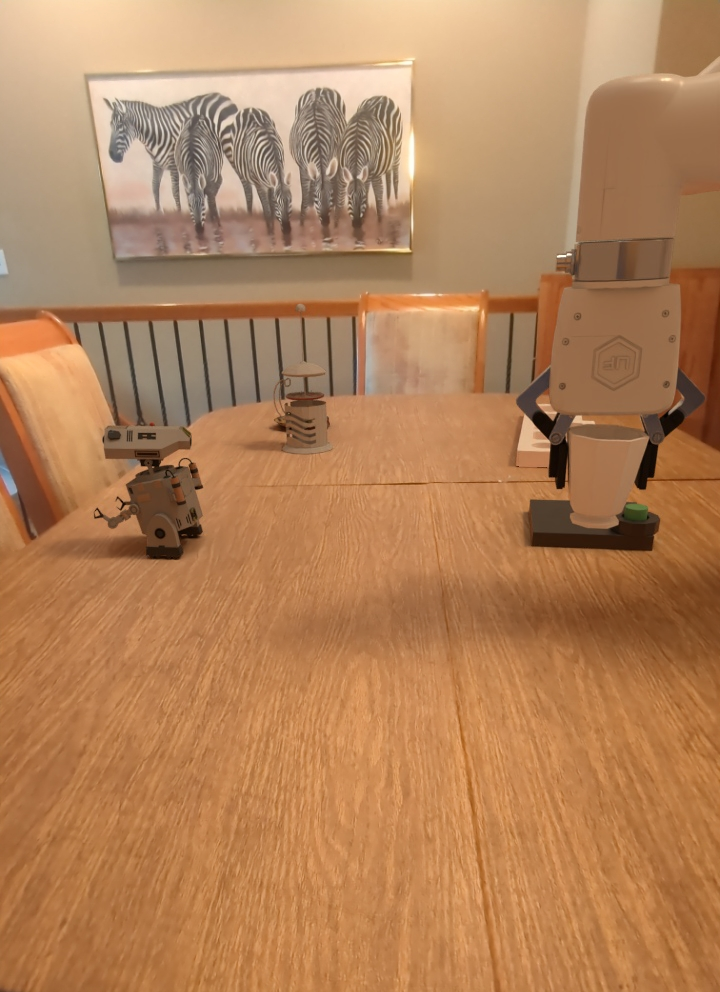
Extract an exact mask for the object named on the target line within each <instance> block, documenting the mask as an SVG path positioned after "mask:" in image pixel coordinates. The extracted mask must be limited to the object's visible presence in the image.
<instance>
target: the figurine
mask: <svg viewBox="0 0 720 992" xmlns="http://www.w3.org/2000/svg"><path fill="white" fill-rule="evenodd" d="M192 435H193V434H192V432H191V431H190V430H188V429H187V428H186V427H184V426H181V425H180V426H171V425H163V426H162V425H155V423H154V422H150V423H149V424H148V425H107V426H106V427H105V428H104V435H102V439H101V440H102V444H103V452H104V458H105V460H136V461H139V465H140V467H141V468H144V467H145V468H146V467H147V468H146V469H145V470H141V471H140V472H138V473H136V474H135V476H134V477H135V478H133V479H132V480H130V481H128V482H127V483H125V487H126V490H127V493H128V495H129V496H128V497H129V499H130V500H128V501H127V500H126V501H123V499H121V498H120V496H116V499H115V501H114V502H118V501H119V502H120V503H121V506H120V507H119V506H116V509H118V510H119V511H120V512H119V514H117V515H116V516H112V517H109V516H107V515H106V514H104V513H103V512H102V511H101V510H100V509H99V507H96V508H95V510H94V511H93V519H94V520H96V519H103V520H105V521H106V522H107V527H108V528H109V529H111V530H114V529H116V528H117V527H118V526H119V524H121V523H123V522H124V521H125V522H126V521H128V520H130V519H131V518H132V516H136V519H137V522H138V525H139V528H140V531H141V534H142V535H145V536H146V546H145V555H146V556H148V557H149V558H150V559H154V558H156V559H161V558H162V557H163V556H164V557H165V558H166V559H168V560H170V559H172V558H173V559H174V560H176V559H178V558H179V557H181V556H182V555H183V554H184V552H185V551H184V549H183V548H184V547H183V545H182V544H181V542H180V538H181V537H182V536H183V535H184V536H186V537H187V538H191V537H193V538H197V537H198V536H200V535H202V533H204V532H203V526H202V524H200V523H201V522H200V519H201V518H202V517H204V515H203V510H202V507H201V505H200V501H199V497H198V493H197V491H198V490H202V489H204V485H203V483H202V480H201V477H200V476H201V475H200V473H199V469H198V466H197V463H196V462H192V460H191V459H190V458H188V457H183V458H181V459H179V461H178V465H177V466H174V465H173V464H164V465H161V464H162V462H163V461H164V460H165V458H167V457H169V456H171V455H172V454H174V453H176V452H178V451H179V450H181V451H182V450H187V451H188V450H189V451H190V450H191V449H192V446H193V437H192ZM184 460H188V461H189V464H188V466H186V465H185V466H184V465H181V462H182V461H184ZM125 506H128V509H124V508H125ZM123 509H124V510H123ZM96 512H98V515H97V516H96Z"/></svg>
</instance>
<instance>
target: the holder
mask: <svg viewBox="0 0 720 992" xmlns="http://www.w3.org/2000/svg"><path fill="white" fill-rule="evenodd" d="M537 404H538V406H539V407H540V408H541V409H542V410H543V411H544V412H545V413H546V414H547V415H548V416H549V417H550V418H551V419H552V420H553V419H554V417H555V415H556V413H557V412H556V411H555V410H554V409H553V408H552V406H551V404H550V403H537ZM523 414H524V413H523ZM584 424H596V421H595V420H583V416H575V418H574V420H573V422H572V423H571V425H570V427H575V426H579V425H584ZM570 427H569V428H570ZM565 436H566V441H567V433H566V435H565ZM549 457H550V441H549V440H548V439H547V438H546V437H545V436H544V435H543V433H542V432H541V431H540V430H539V429H538V428H537V427H536V426H535V425H534V424H533V422H532V421H531V420H530V419H529V418H528V417H527V416H526V415H525V414H524V416H523V419H522V424H521V430H520V434H519V439H518V444H517V449H516V458H515V459H516V460H515V461H516V462H515V467H516V466H519V467H518V468H537V467H547V468H546V469H549ZM567 468H568V456H567Z"/></svg>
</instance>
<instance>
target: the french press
mask: <svg viewBox="0 0 720 992" xmlns="http://www.w3.org/2000/svg"><path fill="white" fill-rule="evenodd" d="M294 311H295V312H299V314H300V315H299V317H300V335H301V336H300V337H301V353H302V354H301V355H302V361H300V362H297V363H294V364H291V365H289V366H287V367H286V368H285V369H283V370H282V371H281V375H282V376H284V377H287V378H282V379H280V380H278V382H276V384H275V386H274V388H273V396H272V397H273V405H274V408H275V410H276V413H277V414H278V416H279V417H280V416H281V417H282V418H283V419H285V421H286V427H285V434H286V443H285V444H284V445H283V446H282V447H281V450H282V451H283V452H285V453H289V454H297V455H309V454H311V455H312V454H313V455H314V454H320V453H321V454H322V453H325V452H329V451H331V450H333V449H334V445H333V444H332V443H331V442H330V441H329V439H328V426H327V416H328V414H327V413H328V412H327V401H325V400H320V399H323V398H324V397H325V394H324V392H321V391H312V390H310V391H306V378H316V377H322V376H325V375H326V373H327V370H326V369H324V368H323V367H322V366H320V365H318V364H315V363H311V362H307V361H305V355H304V353H305V352H304V336H303V319H302V318H303V317H302V316H303V315H302V312H306V311H307V308H306V306H305V305H304V303H298V304H297V305H295V308H294ZM291 378H303V391H302V390H301V391H294V392H289V393H286V394H285V398H286V399H287V400H290V402H285V403H284V408H283V405H282V401H281V389H282V387H283V385H284V387H285V388H289V387H290V386H291V385H292V383H291V382H292V380H291ZM286 381H288V382H289V383H288V384H286ZM279 384H280V385H279ZM278 385H279V389H278V403H279V405H280V408H281V412H283V414H284V415H285V418H284V417H283V416H284V415H282V414H281V413H280V412H279V410H278V408H277V405H276V397H275V396H276V395H275V394H276V390H277V387H278ZM311 391H312V392H311ZM297 400H298V401H297ZM289 404H290V405H289ZM312 405H313V406H312ZM307 406H312V407H307ZM288 412H290V413H291V416H289V415H288V414H290V413H288ZM302 418H303V419H302ZM289 419H290V420H291V423H289ZM308 420H315V422H312V423H304V422H306V421H308ZM313 426H314V427H315V429H313V430H307V428H308V427H313ZM290 427H291V429H290Z"/></svg>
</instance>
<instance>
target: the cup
mask: <svg viewBox="0 0 720 992" xmlns="http://www.w3.org/2000/svg"><path fill="white" fill-rule="evenodd" d="M648 440H649V436H648V435H647V434H646V433H645V432H644V430H642V429H641V428H636V427H635V428H634V427H630V426H626V425H625V426H624V425H621V424H604V423H602V424H601V423H595V424H584V425H579V426H575V427H570V428H569V429H568V431H567V444H568V469H567V486H568V487H567V489H568V496H569V500H570V505H571V507H572V509H573V511H574V513H571V514H570V519H571V521H572V523H573V524H577V525H580V526H583V527H586V528H600V529H608V528H611V527H614V526H617V525H618V524H619V520H618V519H617V517H616V515H617V514H620V513H621V512H622V510H623V508H624V506H625V504H626V502H628V499H629V497H630V496H631V493H632V490H633V487H634V485H635V483H634V482H635V478H636V475H637V472H638V469H639V466H640V463H641V460H642V458H643V455H644V452H645V449H646V446H647V443H648Z"/></svg>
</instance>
